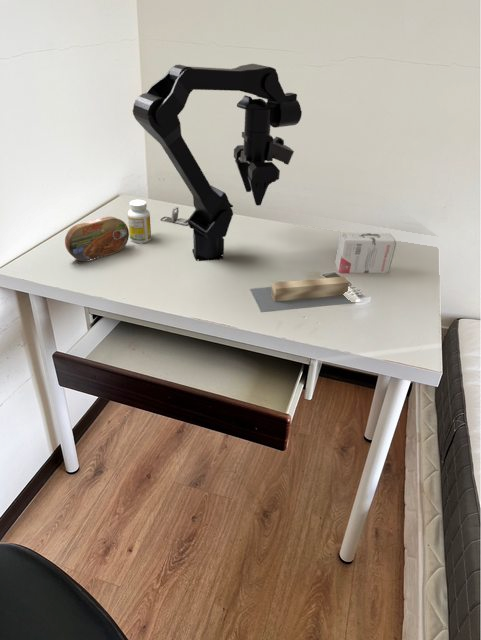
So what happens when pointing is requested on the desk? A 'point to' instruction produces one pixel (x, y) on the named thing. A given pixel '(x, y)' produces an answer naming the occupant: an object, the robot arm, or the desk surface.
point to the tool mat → (292, 301)
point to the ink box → (365, 252)
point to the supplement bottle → (139, 222)
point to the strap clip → (175, 218)
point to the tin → (96, 238)
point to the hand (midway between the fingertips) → (253, 198)
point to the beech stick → (309, 288)
